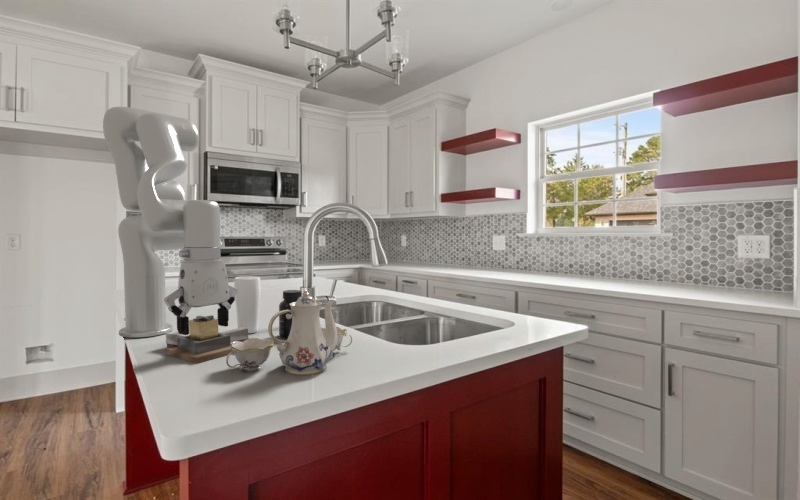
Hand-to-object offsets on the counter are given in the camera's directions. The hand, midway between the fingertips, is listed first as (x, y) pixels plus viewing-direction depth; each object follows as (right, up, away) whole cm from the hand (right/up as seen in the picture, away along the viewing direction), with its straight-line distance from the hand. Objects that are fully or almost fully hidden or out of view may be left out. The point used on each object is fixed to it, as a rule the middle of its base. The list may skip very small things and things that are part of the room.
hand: (204, 329), depth 100 cm
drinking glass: (+3, -4, +20) cm, 20 cm away
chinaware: (+24, -6, -7) cm, 25 cm away
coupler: (0, -4, 0) cm, 4 cm away
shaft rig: (-1, -5, +4) cm, 6 cm away
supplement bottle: (+16, -5, +16) cm, 23 cm away
